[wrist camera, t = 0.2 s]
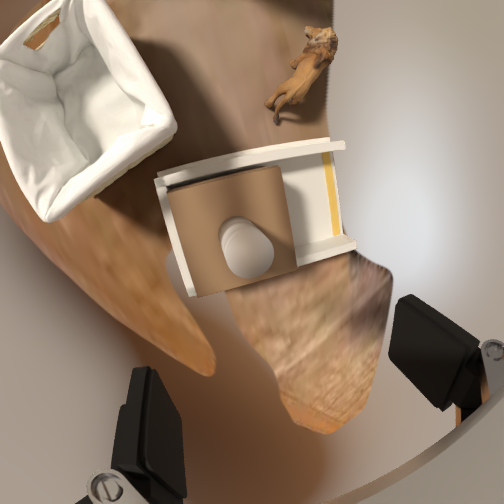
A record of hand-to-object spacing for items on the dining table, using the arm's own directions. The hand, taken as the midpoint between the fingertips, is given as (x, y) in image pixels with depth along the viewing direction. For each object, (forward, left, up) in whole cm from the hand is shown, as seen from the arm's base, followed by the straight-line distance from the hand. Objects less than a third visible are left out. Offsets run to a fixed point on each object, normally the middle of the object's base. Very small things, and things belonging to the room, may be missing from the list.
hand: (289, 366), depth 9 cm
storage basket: (-5, -23, -31) cm, 38 cm away
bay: (-4, +5, -30) cm, 31 cm away
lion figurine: (-23, -2, -30) cm, 38 cm away
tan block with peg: (0, +2, -29) cm, 29 cm away
